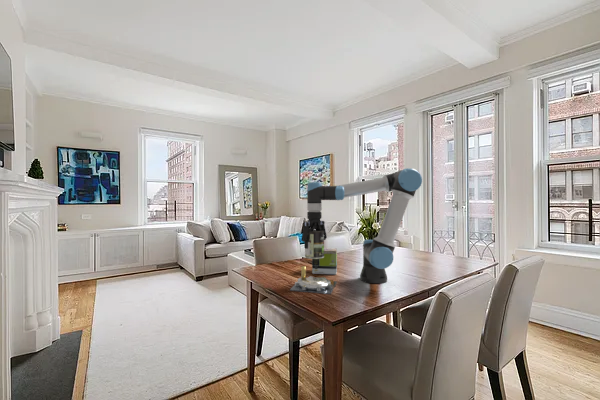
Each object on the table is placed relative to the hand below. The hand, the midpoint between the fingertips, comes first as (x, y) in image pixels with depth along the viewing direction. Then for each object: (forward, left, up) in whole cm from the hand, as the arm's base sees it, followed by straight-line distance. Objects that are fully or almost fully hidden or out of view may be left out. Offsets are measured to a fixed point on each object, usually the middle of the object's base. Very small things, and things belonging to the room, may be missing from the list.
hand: (314, 253), depth 157 cm
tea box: (0, -30, -18) cm, 35 cm away
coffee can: (0, 0, -2) cm, 2 cm away
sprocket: (0, 0, -18) cm, 18 cm away
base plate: (0, 0, -18) cm, 18 cm away
